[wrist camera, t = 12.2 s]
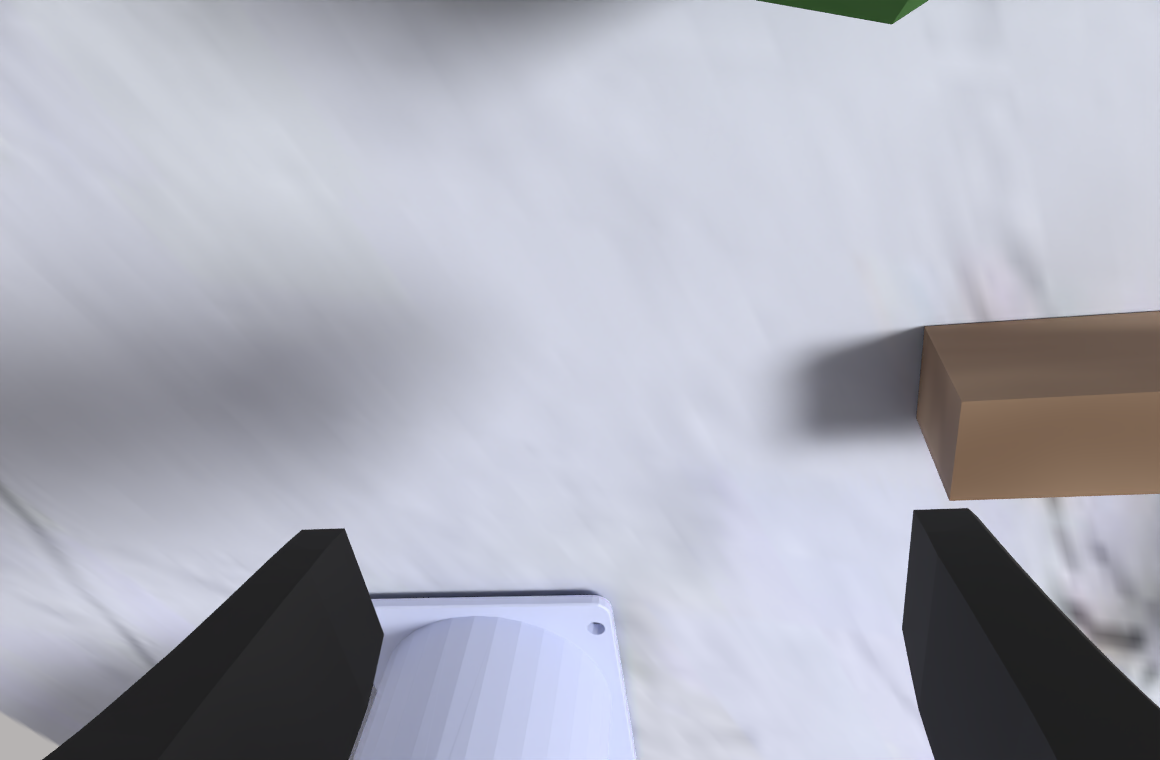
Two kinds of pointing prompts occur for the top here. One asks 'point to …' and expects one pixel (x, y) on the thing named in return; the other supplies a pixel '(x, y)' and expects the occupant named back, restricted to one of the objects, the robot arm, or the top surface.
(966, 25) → the top surface
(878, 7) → the bell pepper
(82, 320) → the top surface
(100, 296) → the top surface
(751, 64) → the top surface
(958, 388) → the wall board
